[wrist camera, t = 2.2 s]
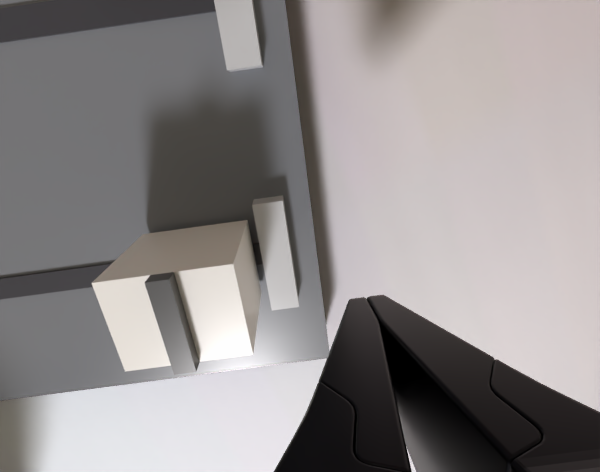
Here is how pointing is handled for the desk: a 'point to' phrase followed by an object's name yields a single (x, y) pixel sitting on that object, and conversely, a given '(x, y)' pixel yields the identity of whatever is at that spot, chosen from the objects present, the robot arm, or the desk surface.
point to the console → (144, 173)
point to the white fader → (183, 297)
